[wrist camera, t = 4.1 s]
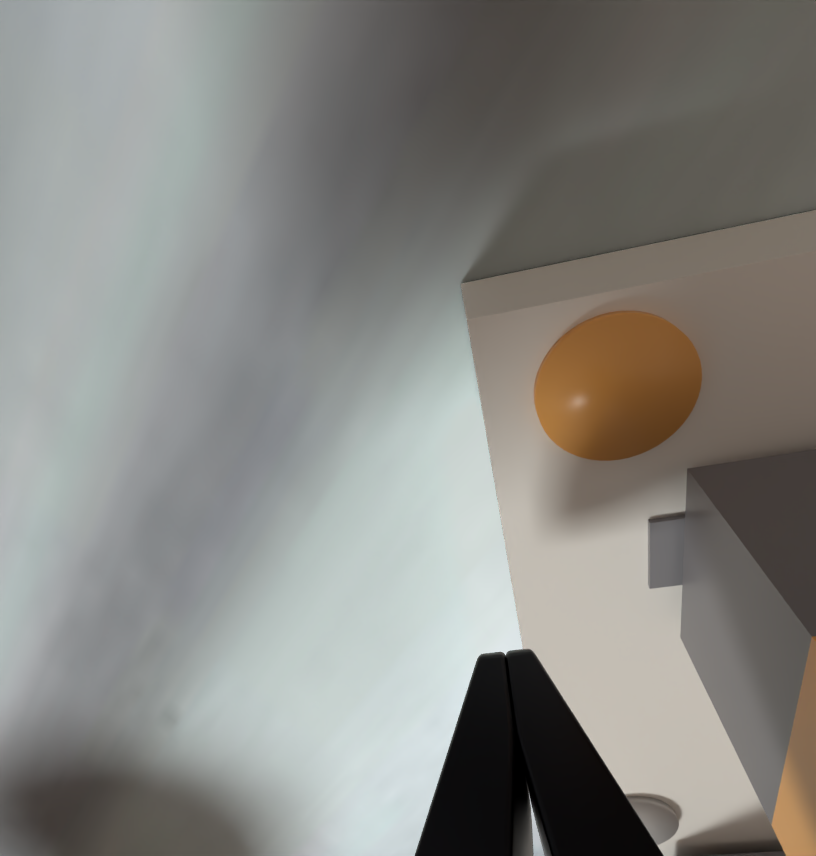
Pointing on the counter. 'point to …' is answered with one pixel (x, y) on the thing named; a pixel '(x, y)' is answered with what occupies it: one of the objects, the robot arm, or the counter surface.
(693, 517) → the orange-topped grey block
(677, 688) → the panel
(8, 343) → the counter surface
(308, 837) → the counter surface
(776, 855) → the plain breaker lever
